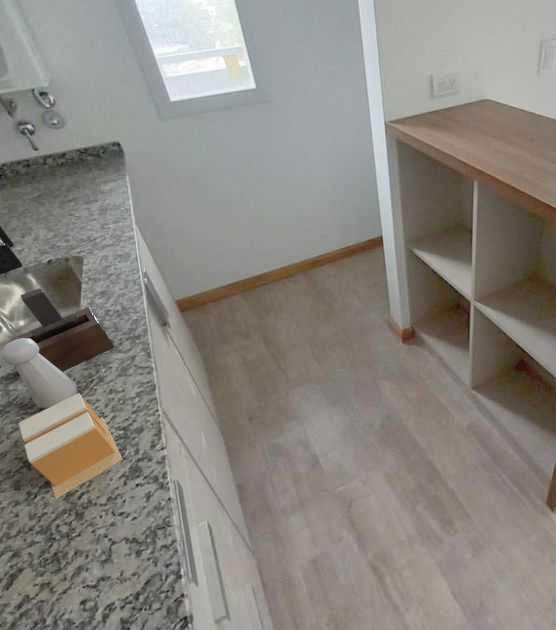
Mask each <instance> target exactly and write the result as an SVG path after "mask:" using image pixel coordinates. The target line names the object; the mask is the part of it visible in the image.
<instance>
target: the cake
mask: <svg viewBox="0 0 556 630" xmlns="http://www.w3.org/2000/svg"><path fill="white" fill-rule="evenodd" d="M86 412H88V413H89V415H90V416H91V417H92V418H93V419H94V420H95V422H96V423H97V424H98V425H99V426H100V428H101V429H102V430H103V431H104V433H105V434H106V435H107V436H108V437H109V439H110V442H111V444H112V446H113V448H114V450H115V452H114V453H112V454H110V455H109V456H107V457H105V458H103V459H102V460H100V461H98V462H97V463H95V464H93V465H91V466H90V467H88V468H86V469H85V470H83V471H81V472H79V473H78V474H76V475H74V476H72V477H71V478H69V479H67V480H66V481H64V482H62V483H60V484H59V485H57V486H55V485H54V484H53V483H51V482H50V485H51V489H52V492H53V495H54V498H55V500H58V499H59V498H61V497H62V496H64V495H66V494H67V493H69V492H71V491H72V490H74V489H76V488H77V487H79V486H81V485H82V484H84V483H86V482H87V481H89V480H91V479H92V478H95V477H96V476H98V475H99V474H101V473H103V472H105V471H106V470H108V469H109V468H111V467H112V466H114V465H116V464H118V463H119V462H121V461H123V456H122V455H121V453H120V451H119V449H118V446H117V444H116V442H115V440H114V438H113V436H112V433H111V432H110V431H111V430H110V429H109V428H108V425H107V424H106V421H105V418H104V416H101V417H99V415H98V414H97V413H96V411H94V409H93V408H92V407H91V406H90V404H89V403H88V402H87V401H86V399H85V398H84V396H82V395H81V394H80V392H77V394H76V395H74V396H72V397H70V398H68V399H66V400H64V401H62V402H60V403H58V404H56V405H54V406H52V407H50V408H48V409H43V410H41V411H40V412H37V413H35V414H33V415H32V416H29V417H27V418H25V419H24V420H22V421H20V422H18V427H19V430H20V434H21V438H22V441H23V442H25V444H27V443H29V442H31V441H33V440H35V439H37V438H39V437H41V436H42V435H44V434H46V433H48V432H50V431H52V430H54V429H56V428H58V427H60V426H62V425H64V424H65V423H67V422H69V421H71V420H73V419H75V418H77V417H79V416H81V415H83V414H85V413H86Z"/></svg>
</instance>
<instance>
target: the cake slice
mask: <svg viewBox="0 0 556 630" xmlns="http://www.w3.org/2000/svg"><path fill="white" fill-rule="evenodd" d="M23 446H24V449H25V452H26V456H27V460H28V462H29V463H30V464H31V465H32V466H33V467H34V468H35V469H36V470H37V471H38V472H39V473H41V475H42V476H44V477H45V478H46V479H47V480H48V481H49V483H50V484H51V483H53V484H54V485H55V486H57V485H59V484H60V483H62V482H64V481H66V480H67V479H69V478H71V477H72V476H74V475H76V474H78V473H79V472H81V471H83V470H85V469H86V468H88V467H90V466H91V465H93V464H95V463H97V462H98V461H100V460H102V459H103V458H105V457H107V456H109V455H110V454H112V453H114V452H115V450H114V448H113V446H112V444H111V442H110V439H109V437H108V436H107V435H106V434H105V433H104V431H103V430H102V429H101V428H100V426H99V425H98V424H97V423H96V422H95V420H94V419H93V418H92V417H91V416H90V415H89V413H88V412H86V413H85V414H83V415H81V416H79V417H77V418H75V419H73V420H71V421H69V422H67V423H65V424H64V425H62V426H60V427H58V428H56V429H54V430H52V431H50V432H48V433H46V434H44V435H42V436H41V437H39V438H37V439H35V440H33V441H31V442H29V443H25V444H24V445H23Z"/></svg>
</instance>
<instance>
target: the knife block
mask: <svg viewBox="0 0 556 630" xmlns="http://www.w3.org/2000/svg"><path fill="white" fill-rule="evenodd" d="M74 312H75V313H76V315H77V316H78V318H79V319H80V321H81V322H82V323H83V324H81V325H79V326H76V327H74V328H72V329H69V330H67V331H65V332H62V333H60V334H58V335H55V336H53V337H51V338H48V339H46V340H44V341H41V342H38V341H37V340H36V339H35V337H34V336H33V335H32V334H31V332H30V331H26V332H24V333H22V334H19V335H18V339H21V338H28V339H32V340H33V341H34V342H35V343H36V344H37V345H38V346H39V352H38V353H39V354H41V355H42V356H43V357H44V358H45V359H47V360H48V361H49V362H50V363H52V364H53V365H54V366H55V367H57V368H58V369H59V370H60V371H62V372H63V373H64V372H65V371H67V370H70V369H71V368H73V367H77V365H80V364H83V363H84V362H87V361H88V360H91V359H93V358H95V357H98V356H99V355H101V354H103V353H105V352H108V351H110V350H112V349H114V348H115V345H114V344H113V342H112V340H111V339H110V337H109V335H108V334H107V332H106V330H105V329H104V328H103V326H102V325H101V323H100V321H99V320H98V318H97V317H96V315H95V314H94V313H93V311H92V310H91V308H90V306H87V307H85V308H82V309H80V310H78V311H74Z"/></svg>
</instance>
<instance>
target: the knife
mask: <svg viewBox="0 0 556 630" xmlns="http://www.w3.org/2000/svg"><path fill="white" fill-rule="evenodd" d="M20 298H21V301H22V302H23V303H24V304H25V306H26V307H27V308H28V310H29V311H30V312H31V313H32V314H33V315H34V318H36V320H37V322H39V324H40V325H38V326H35V327H33V328H30V329H29V331H30V332H31V334H32V335H33V336H34V337H35V339H36V340H37V341H38V342H41V341H44V340H46V339H48V338H51V337H53V336H55V335H58V334H60V333H62V332H65V331H67V330H69V329H72V328H74V327H76V326H79V325H81V324H83V323H82V322H81V321H80V319H79V318H78V316H77V315H76V313H75V312H76V311H72V312H69V313H67V314H65V315H61V313H60V311H59V310H58V309H57V308H56V306H55V305H54V303H53V302H52V300H51V299H50V298H49V296H48V295H47V294H46V293H45V291H44V289H43V288H42V287H39V288H36V289H33V290H31V291H28V292H26V293H23V294H20ZM29 331H28V332H29Z"/></svg>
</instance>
